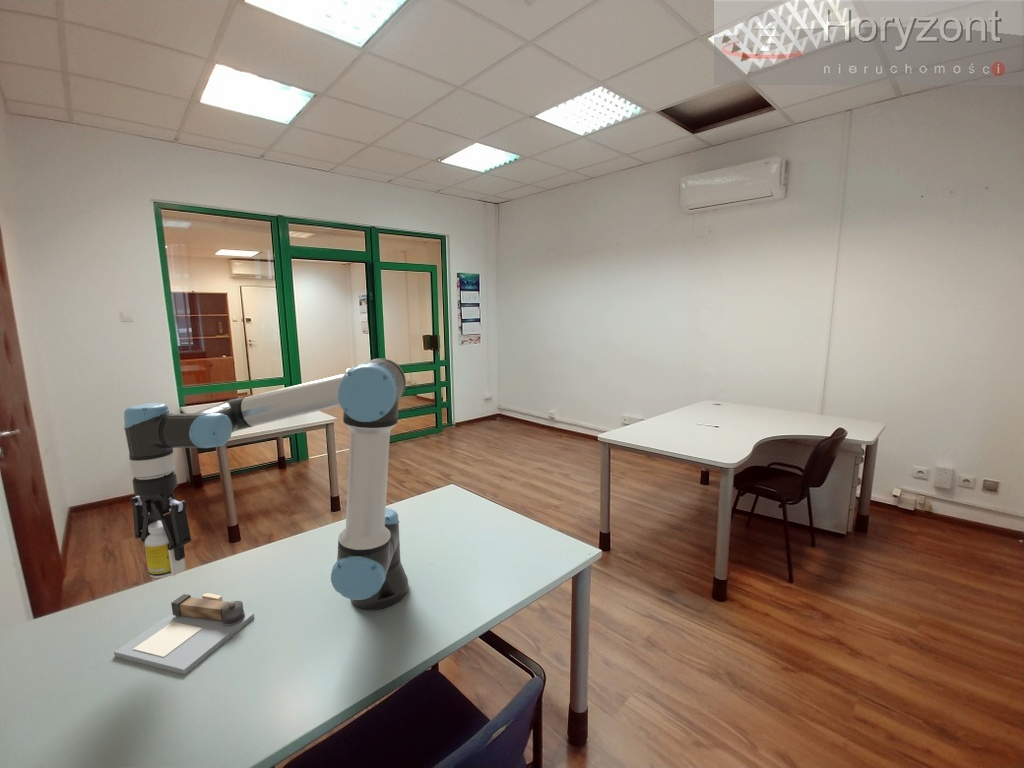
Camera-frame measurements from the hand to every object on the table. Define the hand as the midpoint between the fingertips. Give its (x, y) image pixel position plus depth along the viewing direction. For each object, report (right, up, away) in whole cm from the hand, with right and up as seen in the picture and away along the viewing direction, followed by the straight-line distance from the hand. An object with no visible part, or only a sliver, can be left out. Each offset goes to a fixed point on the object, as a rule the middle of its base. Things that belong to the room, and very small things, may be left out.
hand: (166, 569), depth 100 cm
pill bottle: (0, -1, 0) cm, 1 cm away
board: (+3, -17, +3) cm, 18 cm away
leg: (+4, -15, +8) cm, 17 cm away
